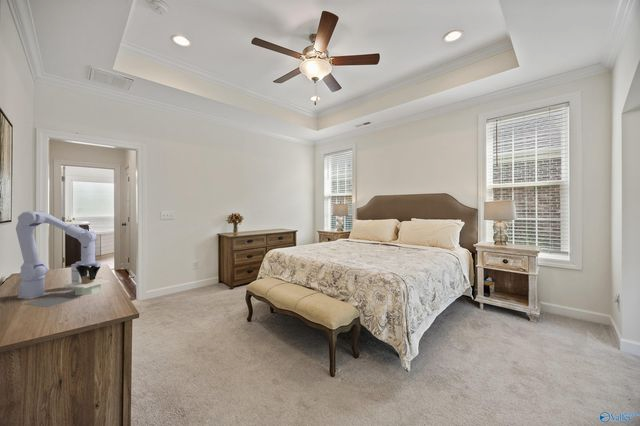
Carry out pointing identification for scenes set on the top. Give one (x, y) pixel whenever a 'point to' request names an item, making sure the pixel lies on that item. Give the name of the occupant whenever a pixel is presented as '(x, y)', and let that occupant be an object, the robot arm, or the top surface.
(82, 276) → the robot arm
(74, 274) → the syrup box
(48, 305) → the charcoal mat
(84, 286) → the cover sheet
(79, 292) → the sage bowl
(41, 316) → the top surface
